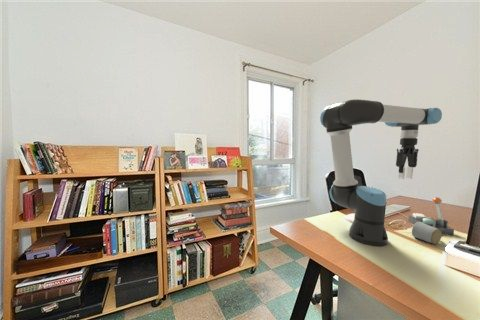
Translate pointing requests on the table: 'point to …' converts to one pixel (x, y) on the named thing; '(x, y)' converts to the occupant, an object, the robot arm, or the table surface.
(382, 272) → the table surface
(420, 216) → the rocker
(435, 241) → the grey cylinder
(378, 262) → the table surface
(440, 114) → the robot arm
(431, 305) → the table surface
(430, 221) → the push button
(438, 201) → the toggle lever
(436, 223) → the dark grey lumpy shape
